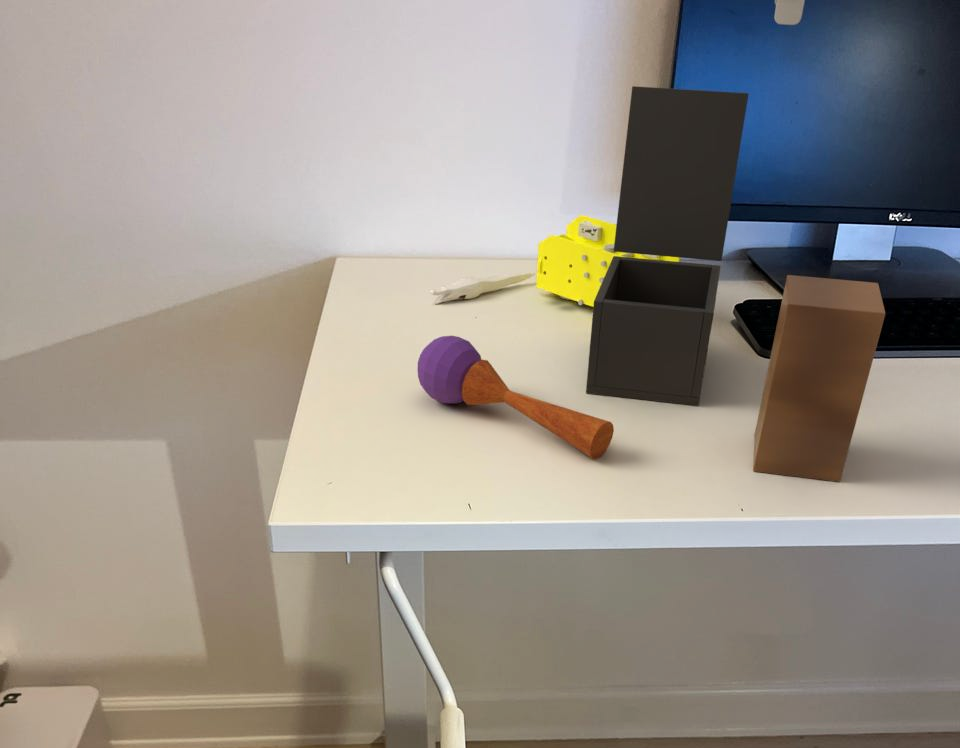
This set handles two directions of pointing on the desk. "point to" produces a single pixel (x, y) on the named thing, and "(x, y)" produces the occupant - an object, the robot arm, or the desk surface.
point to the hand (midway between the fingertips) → (786, 16)
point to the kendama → (502, 394)
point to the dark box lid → (679, 172)
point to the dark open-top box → (652, 330)
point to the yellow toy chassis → (580, 259)
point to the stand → (817, 376)
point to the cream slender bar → (476, 286)
